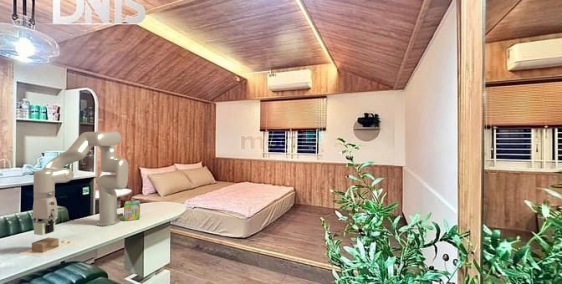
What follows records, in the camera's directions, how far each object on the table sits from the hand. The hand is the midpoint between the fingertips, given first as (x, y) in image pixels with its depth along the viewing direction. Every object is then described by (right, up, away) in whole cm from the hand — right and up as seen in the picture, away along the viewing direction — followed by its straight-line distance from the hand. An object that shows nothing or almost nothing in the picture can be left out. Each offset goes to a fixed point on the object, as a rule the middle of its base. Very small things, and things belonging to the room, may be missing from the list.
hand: (44, 231), depth 124 cm
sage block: (0, -1, 0) cm, 1 cm away
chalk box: (+14, -9, +49) cm, 52 cm away
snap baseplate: (+1, -10, +2) cm, 10 cm away
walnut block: (0, -9, 0) cm, 9 cm away
